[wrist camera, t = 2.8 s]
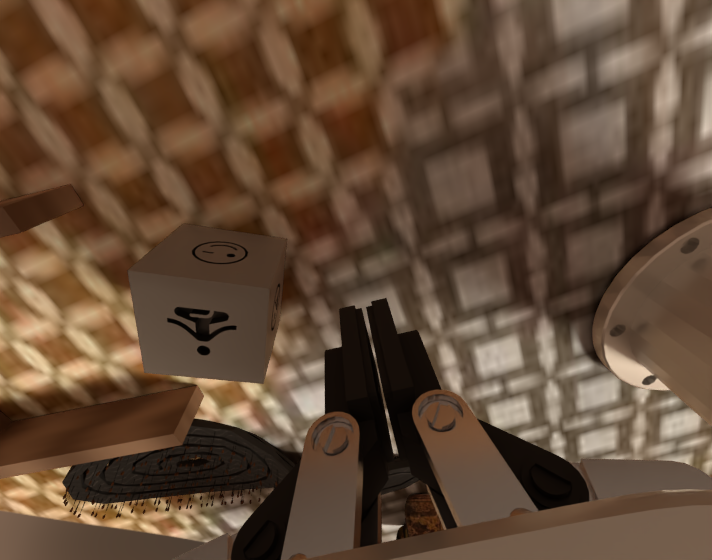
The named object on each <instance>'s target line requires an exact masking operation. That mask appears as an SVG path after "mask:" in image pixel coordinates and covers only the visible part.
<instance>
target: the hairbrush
mask: <svg viewBox="0 0 712 560" xmlns="http://www.w3.org/2000/svg"><path fill="white" fill-rule="evenodd" d="M248 433H249V434H248ZM250 434H252V435H254V436H256V437H258V438H259V439H260V440H261V441H263V442H261V441H260V440H258V439H256V438H255V437H253V436H251V435H250ZM197 457H200V458H203V459H198V460H195V459H196V458H197ZM192 458H194V460H193V461H192V460H191V459H192ZM110 460H111V461H110ZM137 460H138V461H137ZM222 460H223V461H222ZM109 461H110V462H109ZM394 461H395V462H391V463H388V466H389V472H390V475H388V477H389V480H388V481H387V483H386V484H385V486H384V487H383V489H382V490H381V492H380V493H381V495H382V494H385V493H389V492H392V491H396V490H399V489H402V488H406V487H408V486H409V485H411V484H413V483H415V482H417V481H418V480H419V479H417V478H416V477H414V476H413V475H411V472H410V467H409V463H408V459H405V460H401V461H400V458H396V459H394ZM108 462H109V464H108ZM248 462H249V464H248ZM107 464H108V466H106V465H107ZM268 466H269V467H268ZM294 466H295V464H294V463H293V462H292V461H290V460H289V459H288V458H287V457H285V456H284V455H283V454H282V453H280V452H279V451H278V450H277V449H275V448H274V447H273V446H272V445H270V444H269V443H268V442H266V441H265V440H264V439H262V438H261V437H259V436H257V435H255V434H253V433H250V432H247V431H244V430H242V429H240V428H237V427H232V426H228V425H224V424H220V423H216V422H212V421H207V420H200V419H193V422H192V424H191V426H190V428H189V431H188V433H187V435H186V437H185V440H184V442H183V444H182V445H180V446H174V447H169V448H164V449H158V450H153V451H147V452H142V453H137V454H131V455H126V456H120V457H115V458H110V459H104V460H99V461H93V462H88V463H83V464H77V465H73V466H72V467H71V468H70V470H69V472H68V473H67V475H66V477H65V479H64V480H63V482H62V483H63V484H64V486H65V487H66V494H65V495H64V496H63V499H64V498H66V495H67V492H69V494H70V495H71V497H72V498H73V499H75V501H76V500H82V501H88V502H92V505H93V504H94V503H96V505H97V503H100V505H101V503H102V504H108V503H116V502H117V503H118V502H124V503H125V501H131V502H130V504H129V506H130V505H131V503H132V501H133V500H137V503H136V504H134V505H136V506H137V504H138V500H142V499H150V498H156V500H157V498H159V497H160V498H161V497H169V496H178V495H186V494H189V495H190V494H195V493H205V492H209V494H210V492H215V491H221V492H222V491H224V492H225V491H229V490H241V494H240V496H242V497H243V494H242V490H244V489H253V490H252V492H253V493H254V489H256V490H257V489H258V488H272V487H277V486H278V484H279V483H280V482H281V481H282V480H283V479H284V478H285V477H286V475H287V474H288V473H289V472H290V471H291V470H292V469H293V467H294ZM244 493H245V492H244ZM260 493H261V490H260ZM214 494H215V493H214ZM249 494H250V490H249ZM251 495H252V494H251ZM231 496H232V497H233V496H234V493H233V492H232V495H231ZM69 497H70V496H69ZM193 497H194V495H193ZM221 497H223V498H224V496H223V494H222V495H221V494H220V498H221ZM237 497H239V492H238V495H237ZM171 498H172V497H171ZM182 498H183V497H182ZM203 498H204V497H203ZM212 498H213V499H214V497H213V495H212V496H211V499H212ZM66 499H67V498H66ZM66 499H65V500H64V502H63V503H64V504H65V506H66V505H67V504H68V501H67V500H66ZM169 499H170V498H169ZM201 499H202V496H201V497H200V500H201ZM208 499H209V497H208ZM156 500H155V502H154V505H155V504H156ZM66 501H67V502H66ZM179 501H180V503H181V502H182V499H178V502H179ZM189 501H191V497H189ZM189 501H188V503H189ZM192 501H193V500H192ZM170 502H171V500H170ZM202 502H203V501H202ZM258 502H260V498H259V501H258ZM74 503H75V502H74ZM79 503H80V501H79ZM167 503H169V501H168V500H167V501H166V504H167ZM232 503H233V498H232V501H231V504H232ZM243 503H244V498H243V501H242V500H241V504H243ZM84 504H85V502H84ZM143 504H144V501H143V503H142V505H141V506H143ZM159 504H160V499H159V502H158V505H159ZM250 504H251V500H250ZM78 505H79V504H78ZM121 505H122V504H121ZM123 505H124V504H123ZM221 505H223V501H222V503H221ZM225 505H226V502H225ZM73 506H74V505H73ZM83 506H84V505H83ZM104 506H105V505H103V506H102V509H103V508H104ZM108 506H109V504H108ZM169 506H170V504H169ZM207 506H208V503H207V504H206V507H207ZM211 506H213V501H212V504H211ZM95 507H96V506H95ZM99 507H100V506H99ZM112 507H113V505H112V506H111V508H112ZM167 507H168V504H167ZM167 507H166V509H165V511H169V507H168V509H167ZM201 507H202V504H201ZM77 508H78V506H77ZM77 508H76V510H77ZM82 508H83V507H82ZM107 508H108V507H107ZM116 508H117V505H116V506H115V509H116ZM120 508H121V507H120ZM122 508H123V507H122ZM133 508H134V507H133ZM145 508H146V507H145ZM180 508H181V506H180V507H179V510H180ZM187 508H188V505H187V507H186V509H187ZM191 508H192V504H191V506H190V509H191ZM72 510H73V507H72V508H71V510H70V512H72ZM76 510H75V511H74V515H75V514H76V512H77V511H76ZM157 510H158V508H156V511H157ZM106 511H107V510H106ZM119 511H120V510H119ZM121 511H122V510H121ZM132 512H133V509H132V510H131V513H132ZM144 513H145V510H144V511H143V514H144ZM93 514H94V511H93V512H92V514H91V516H92V515H93ZM80 515H81V512H80V514H79V515H78V517H80ZM118 515H119V517H120V516H121V514H119V512H118V514H117V516H116V518H117V517H118ZM96 516H97V513H96V515H95V517H96ZM78 517H77V518H78ZM104 517H105V515H104V516H103V519H104Z"/></svg>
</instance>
